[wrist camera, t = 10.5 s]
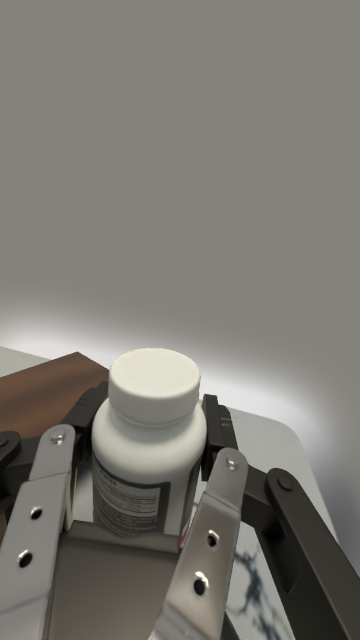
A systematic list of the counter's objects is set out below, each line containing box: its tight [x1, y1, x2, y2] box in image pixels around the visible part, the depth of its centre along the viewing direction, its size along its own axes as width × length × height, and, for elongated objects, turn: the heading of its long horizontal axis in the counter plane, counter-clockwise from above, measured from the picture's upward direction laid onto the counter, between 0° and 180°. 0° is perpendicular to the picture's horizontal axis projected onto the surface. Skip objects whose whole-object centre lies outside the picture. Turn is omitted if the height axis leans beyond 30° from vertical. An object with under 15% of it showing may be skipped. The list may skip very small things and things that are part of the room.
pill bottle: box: [91, 348, 207, 548], centre depth 11 cm, size 5×5×10 cm
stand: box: [0, 352, 110, 547], centre depth 20 cm, size 11×13×6 cm
